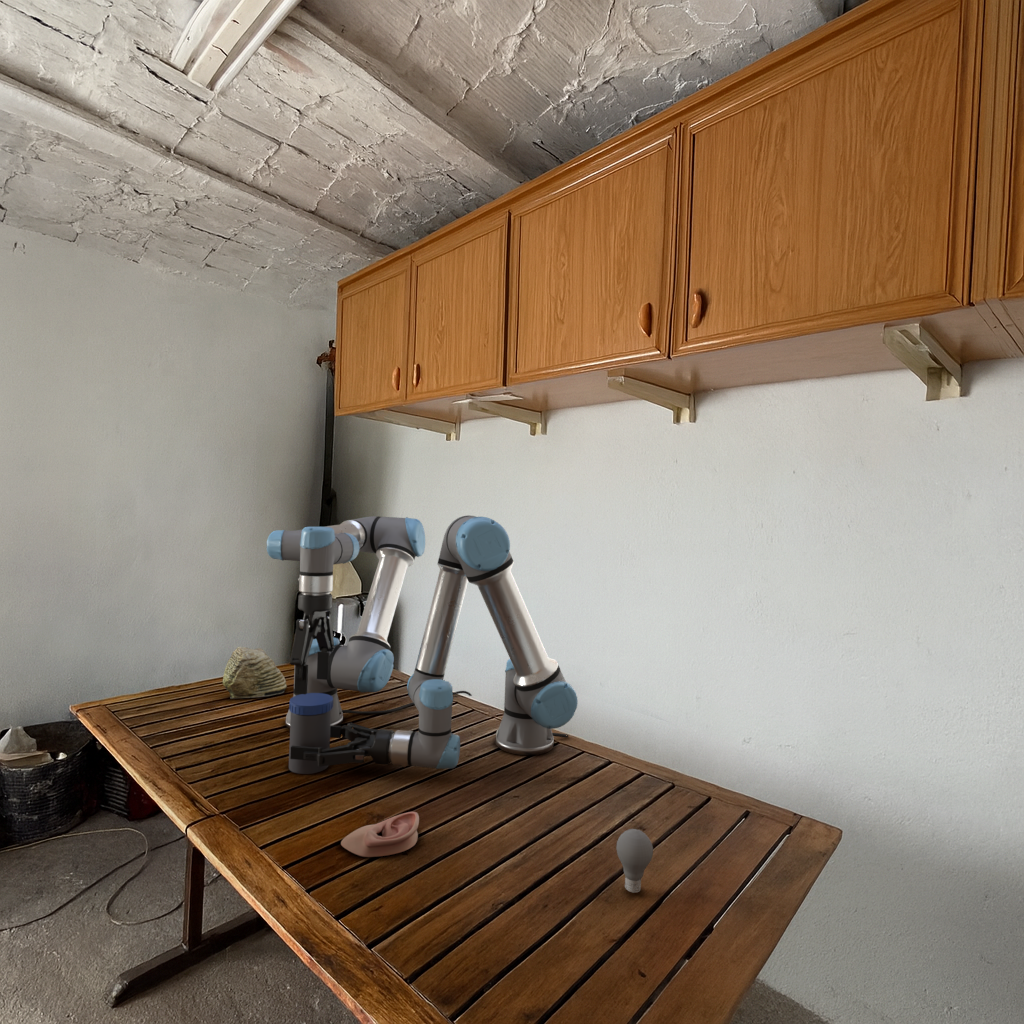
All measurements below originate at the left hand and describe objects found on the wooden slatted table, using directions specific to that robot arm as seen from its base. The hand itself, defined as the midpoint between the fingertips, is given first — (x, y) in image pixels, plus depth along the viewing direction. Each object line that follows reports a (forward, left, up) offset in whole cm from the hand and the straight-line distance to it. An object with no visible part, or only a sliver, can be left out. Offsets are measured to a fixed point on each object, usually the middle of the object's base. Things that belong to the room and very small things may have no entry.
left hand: (312, 686), depth 148 cm
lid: (0, 0, -3) cm, 3 cm away
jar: (0, 0, -19) cm, 19 cm away
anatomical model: (+10, +38, -19) cm, 43 cm away
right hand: (+1, -1, -13) cm, 13 cm away
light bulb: (-9, +80, -19) cm, 83 cm away
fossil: (-18, -57, -19) cm, 62 cm away
